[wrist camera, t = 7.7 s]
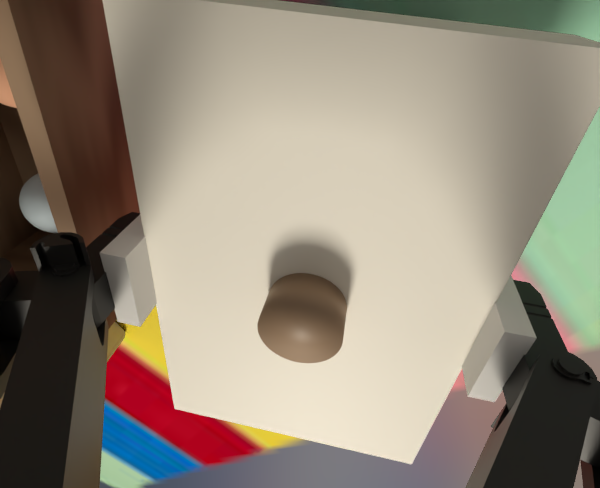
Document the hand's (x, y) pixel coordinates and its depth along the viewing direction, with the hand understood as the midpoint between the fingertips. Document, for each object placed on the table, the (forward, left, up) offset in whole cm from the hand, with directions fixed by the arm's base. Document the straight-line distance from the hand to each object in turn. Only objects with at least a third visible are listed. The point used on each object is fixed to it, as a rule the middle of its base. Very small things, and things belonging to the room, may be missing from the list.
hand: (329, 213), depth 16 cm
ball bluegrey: (+2, -13, -2) cm, 13 cm away
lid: (0, 0, +3) cm, 3 cm away
